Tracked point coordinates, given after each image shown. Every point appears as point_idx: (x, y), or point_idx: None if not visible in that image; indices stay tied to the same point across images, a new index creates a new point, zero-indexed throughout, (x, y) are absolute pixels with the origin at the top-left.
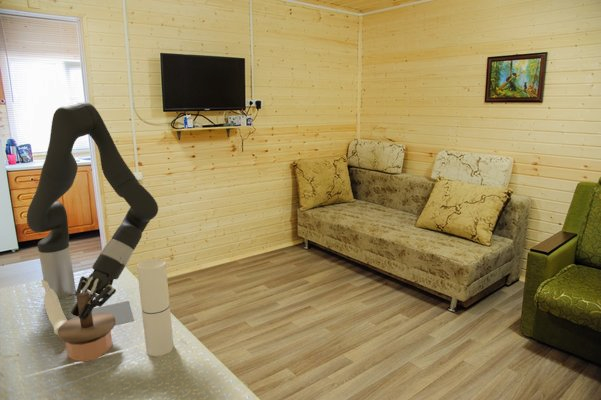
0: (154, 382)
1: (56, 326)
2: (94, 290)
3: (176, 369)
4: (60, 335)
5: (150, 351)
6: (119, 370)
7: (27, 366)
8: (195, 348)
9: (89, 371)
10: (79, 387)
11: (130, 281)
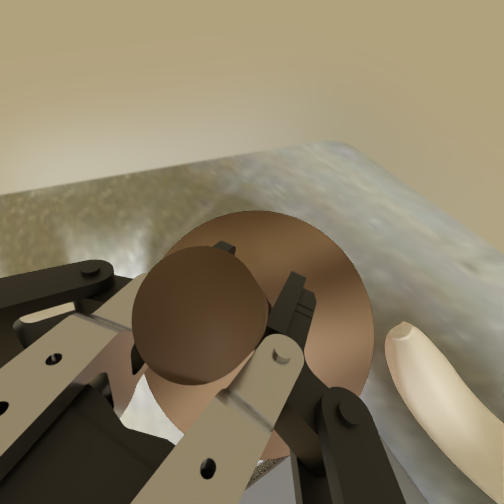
0: (56, 215)
1: (427, 347)
2: (23, 355)
3: (18, 260)
4: (307, 227)
5: (71, 303)
6: (139, 240)
7: (383, 222)
8: None
9: None
10: (199, 179)
11: None
